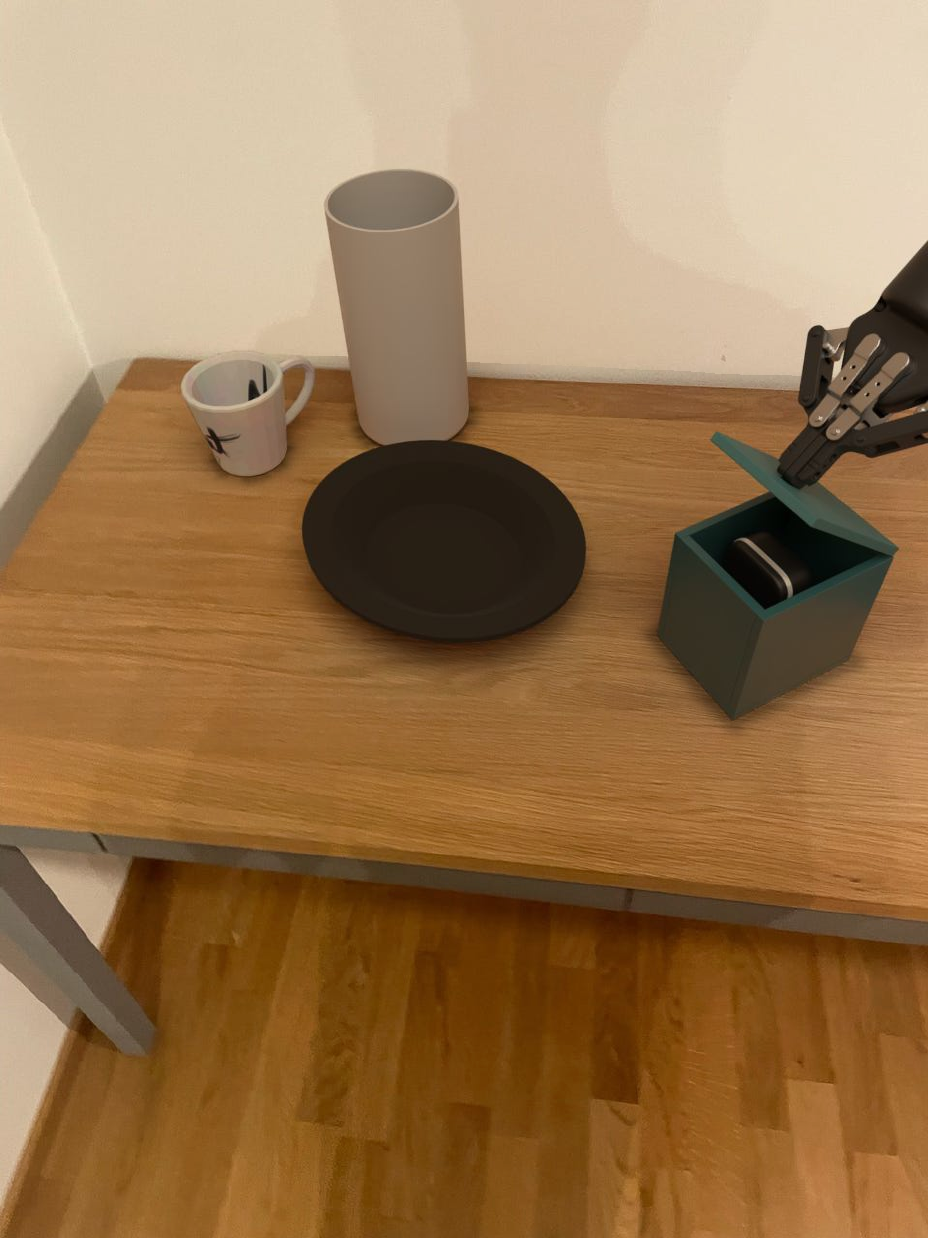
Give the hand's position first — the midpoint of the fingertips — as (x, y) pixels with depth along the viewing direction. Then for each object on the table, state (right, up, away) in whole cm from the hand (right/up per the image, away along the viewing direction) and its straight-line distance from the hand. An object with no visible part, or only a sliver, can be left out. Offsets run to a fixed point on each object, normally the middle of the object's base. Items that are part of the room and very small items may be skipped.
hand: (787, 479), depth 66 cm
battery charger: (+2, -12, +15) cm, 20 cm away
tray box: (+2, -12, +16) cm, 20 cm away
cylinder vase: (-29, +13, +39) cm, 50 cm away
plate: (-25, -5, +24) cm, 35 cm away
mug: (-45, +9, +37) cm, 59 cm away
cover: (+2, -1, +3) cm, 4 cm away
